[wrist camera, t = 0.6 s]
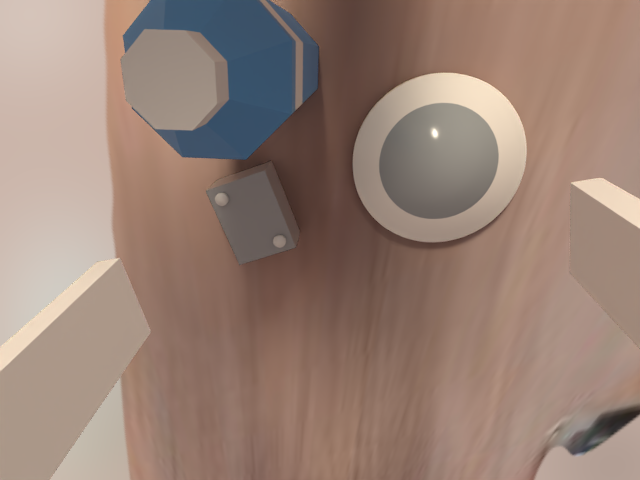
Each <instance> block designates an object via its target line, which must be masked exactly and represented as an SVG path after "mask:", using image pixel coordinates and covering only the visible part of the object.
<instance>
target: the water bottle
mask: <svg viewBox="0 0 640 480" xmlns="http://www.w3.org/2000/svg"><path fill="white" fill-rule="evenodd" d="M123 40H124V48H125V54H124V55H123V57H122V58H121V67H122V75H123V82H124V90H125V98H126V101H127V102H128V103H129V104H130V105H131V106H132V109H133V110H134V111H135V112H136V113H137V114H138V115H139V116H140V117H141V118H143V119H144V120H145V121H146V122H147V123H148V124H149V125H150V126H151V127H152V128H153V129H154V130H155V131H156V132H157V133H158V134H159V135H160V136H161V137H162V138H163V139H164V140H165V141H166V142H167V143H168V144H169V145H170V146H171V147H173V148H174V149H175V150H176V151H177V152H178V153H179V154H180V155H181V156H182V157H192V158H216V159H240V160H246V159H247V158H248V157H249V156H250V155H251V154H252V153H253V152H254V151H255V150H256V149H257V148H258V147H259V146H260V145H261V144H262V143H263V142H264V141H265V140H266V139H267V138H268V137H269V136H270V135H271V134H272V133H273V132H274V131H275V130H276V129H277V128H278V127H279V126H281V125H282V124H283V123H284V122H285V121H286V120H287V119H288V118H289V117H290V116H291V115H292V114H293V113H294V112H295V111H296V110H297V109H298V108H299V107H300V106H301V105H302V104H303V103H304V102H305V101H306V100H307V99H308V98H309V97H310V96H311V95H312V94H313V93H314V92H315V91H316V90H317V89H318V60H319V46H318V45H317V44H316V42H315V41H314V40H313V39H312V38H311V37H310V36H309V34H308V33H307V32H306V31H305V30H304V29H303V28H302V26H301V25H300V24H299V23H298V22H297V21H296V20H295V18H294V17H293V16H292V15H291V14H290V13H288V12H287V11H285V10H284V9H282V8H281V7H279V6H277V5H276V4H274V3H273V2H271V1H270V0H150V2H149V3H148V4H147V6H146V7H145V8H144V9H143V11H142V12H141V13H140V15H139V16H138V17H137V18H136V20H135V21H134V22H133V23H132V25H131V26H130V27H129V29H128V30H127V31H126V32H125V34H124V35H123Z"/></svg>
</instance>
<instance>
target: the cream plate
mask: <svg viewBox="0 0 640 480" xmlns="http://www.w3.org/2000/svg"><path fill="white" fill-rule="evenodd" d="M526 153H527V148H526V137H525V133H524V128H523V126H522V123H521V120H520V118H519V116H518V114H517V112H516V110H515V109H514V107H513V106H512V104H511V103H510V102H509V101H508V99H507V98H506V97H505V96H504V95H503V94H502V93H500V92H499V91H498V90H497V89H495V88H494V87H492V86H491V85H490V84H488V83H486V82H484V81H482V80H480V79H477V78H474V77H471V76H468V75H463V74H457V73H443V72H440V73H431V74H426V75H422V76H418V77H415V78H412V79H410V80H407V81H405V82H403V83H401V84H400V85H398V86H396V87H394V88H393V89H392V90H390V91H389V92H388V93H386V94H385V95H384V96H383V97H382V98H381V99H380V100H379V101H378V102H377V103H376V104H375V105H374V106H373V107H372V109H371V110H370V111H369V113H368V114H367V116H366V117H365V119H364V121H363V123H362V125H361V127H360V129H359V131H358V134H357V137H356V140H355V145H354V150H353V177H354V181H355V186H356V189H357V192H358V195H359V197H360V199H361V201H362V203H363V205H364V206H365V208H366V209H367V210H368V212H369V213H370V214H371V216H372V217H373V218H374V219H375V220H376V221H377V222H378V223H380V224H381V225H382V226H383V227H385V228H386V229H388V230H389V231H391V232H393V233H395V234H397V235H399V236H401V237H404V238H407V239H411V240H415V241H421V242H445V241H450V240H455V239H458V238H461V237H465V236H467V235H469V234H472V233H474V232H476V231H477V230H479V229H481V228H483V227H484V226H486V225H487V224H488V223H490V222H491V221H492V220H494V219H495V218H496V217H497V216H498V215H499V214H500V213H501V212H502V211H503V210H504V208H505V207H506V206H507V205H508V204H509V202H510V201H511V199H512V198H513V196H514V195H515V193H516V191H517V189H518V187H519V185H520V182H521V179H522V176H523V173H524V169H525V164H526Z"/></svg>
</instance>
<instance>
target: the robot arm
mask: <svg viewBox="0 0 640 480" xmlns="http://www.w3.org/2000/svg"><path fill="white" fill-rule="evenodd" d="M570 274H571V275H572V276H573V277H574V278H575V279H576V280H577V281H578V283H579V284H580V285H581V286H582V287H583V288H584V289H585V290H586V291H587V292H588V293H589V295H590V296H591V297H592V298H593V299H594V300H595V301H596V302H597V303H598V304H599V305H600V306H601V308H602V309H603V310H604V311H605V312H606V313H607V314H608V315H609V316H610V317H611V318H612V319H613V321H614V322H615V323H616V324H617V325H618V326H619V327H620V328H621V329H622V330H623V331H624V332H625V334H626V335H627V336H628V337H629V338H630V339H631V340H632V341H633V342H634V343H635V344H636V345H637V347H638V348H639V349H640V199H638V198H636V197H635V196H633V195H631V194H629V193H628V192H626V191H624V190H622V189H621V188H619V187H617V186H615V185H613V184H612V183H610V182H608V181H606V180H605V179H603V178H596V179H590V180H584V181H578V182H572V183H571V193H570ZM150 333H151V330H150V328H149V326H148V323H147V321H146V318H145V316H144V314H143V311H142V309H141V306H140V304H139V302H138V299H137V297H136V295H135V292H134V290H133V287H132V285H131V283H130V280H129V278H128V275H127V273H126V271H125V268H124V266H123V264H122V261H121V259H120V258H117V259H111V260H105V261H99V262H97V263H96V264H94V265H93V266H92V267H91V268H90V269H89V270H87V272H85V273H84V274H83V275H82V276H81V277H79V278H78V279H77V280H76V281H75V282H74V283H73V284H72V285H70V286H69V287H68V288H67V289H66V290H65V291H64V292H62V293H61V294H60V295H59V296H58V297H57V298H56V299H54V300H53V301H52V302H51V303H50V304H49V305H48V306H46V307H45V308H44V309H43V310H42V311H41V312H40V313H39V314H37V315H36V316H35V317H34V318H33V319H32V320H31V321H29V322H28V323H27V324H26V325H25V326H24V327H23V328H22V329H20V330H19V331H18V332H17V333H16V334H15V335H14V336H12V337H11V338H10V339H9V340H8V341H7V342H6V343H5V344H3V345H2V346H1V347H0V480H50V478H51V477H52V476H53V474H54V473H55V471H56V470H57V468H58V467H59V465H60V464H61V462H62V461H63V459H64V458H65V456H66V455H67V454H68V452H69V451H70V449H71V448H72V446H73V445H74V443H75V442H76V441H77V439H78V437H79V436H80V435H81V433H82V432H83V430H84V429H85V427H86V426H87V424H88V423H89V422H90V420H91V419H92V417H93V416H94V414H95V413H96V411H97V410H98V408H99V407H100V405H101V404H102V402H103V401H104V400H105V398H106V397H107V395H108V394H109V392H110V391H111V389H112V388H113V387H114V385H115V383H116V382H117V381H118V379H119V378H120V376H121V375H122V373H123V372H124V370H125V369H126V368H127V366H128V365H129V363H130V362H131V360H132V359H133V357H134V356H135V354H136V353H137V351H138V350H139V349H140V347H141V346H142V344H143V343H144V341H145V340H146V338H147V337H148V335H149V334H150Z"/></svg>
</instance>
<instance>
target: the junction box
mask: <svg viewBox="0 0 640 480" xmlns="http://www.w3.org/2000/svg"><path fill="white" fill-rule="evenodd" d="M206 193H207V195H208V197H209V200H210V202H211V204H212V206H213V208H214V210H215V213H216V215H217V217H218V219H219V221H220V223H221V226H222V228H223V230H224V232H225V234H226V237H227V239H228V241H229V243H230V245H231V247H232V250H233V252H234V254H235V256H236V258H237V260H238V263H239V265H241V264H244V263H248V262H251V261H254V260H257V259H261V258H264V257H267V256H270V255H274V254H277V253H280V252H283V251H287V250H290V249H293V248H296V246H297V242H298V239H299V236H300V230H299V228H298V225H297V223H296V220H295V218H294V215H293V213H292V210H291V208H290V205H289V203H288V200H287V198H286V195H285V192H284V190H283V187H282V185H281V182H280V180H279V177H278V175H277V172H276V170H275V167H274V165H273V162H272V161H270V162H267V163H264V164H261V165H258V166H255V167H253V168H250V169H247V170H244V171H241V172H238V173H235V174H232V175H230V176H227V177H224V178H221V179H218V180H217V181H215V182H214V183H213V184H212V185H211V186H210V187H209V188H208V189H207V190H206Z"/></svg>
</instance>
